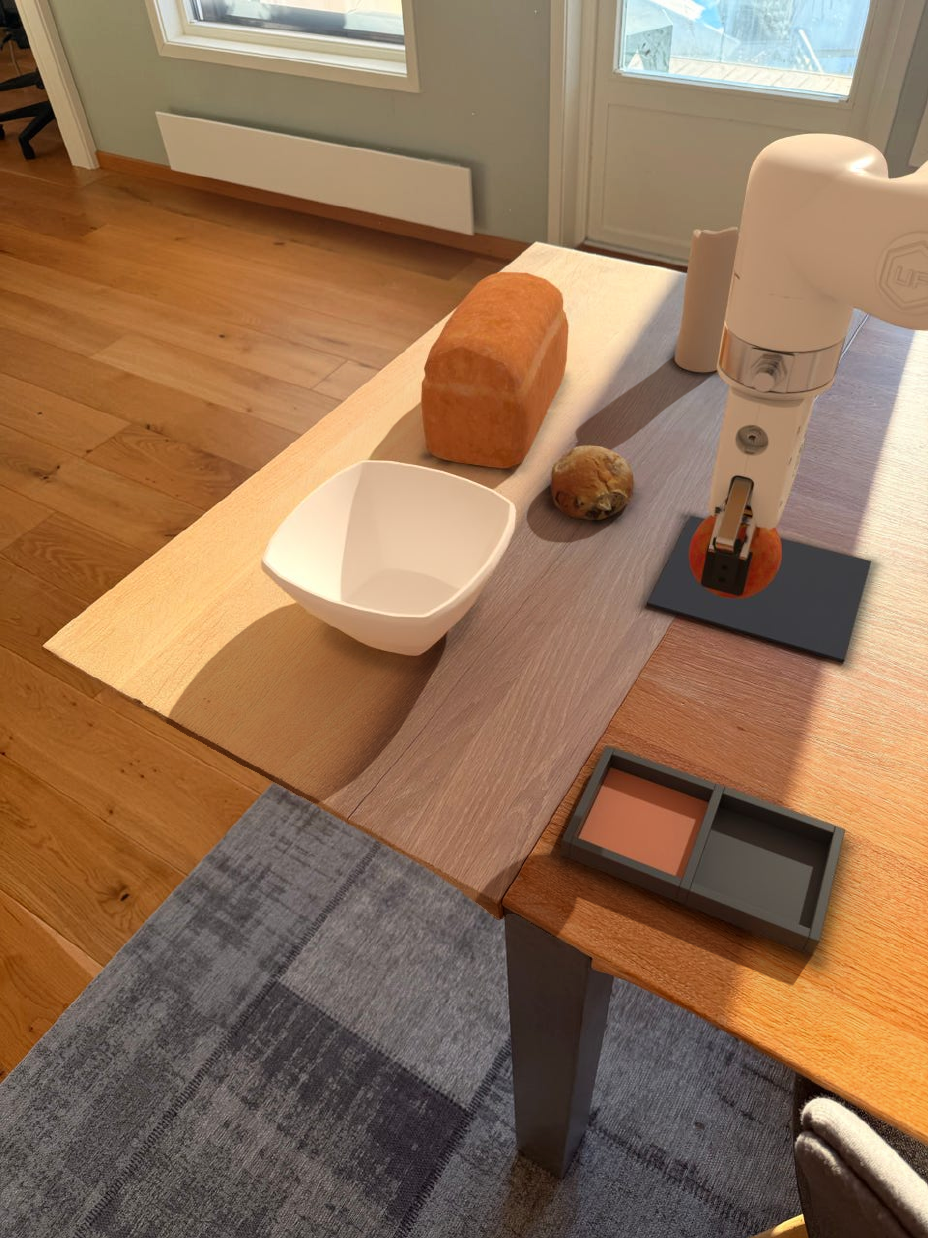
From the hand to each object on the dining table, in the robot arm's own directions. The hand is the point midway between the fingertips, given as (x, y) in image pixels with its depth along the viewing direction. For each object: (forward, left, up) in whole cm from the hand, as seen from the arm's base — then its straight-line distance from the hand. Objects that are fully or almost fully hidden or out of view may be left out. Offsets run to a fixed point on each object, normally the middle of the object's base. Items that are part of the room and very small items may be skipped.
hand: (734, 556), depth 71 cm
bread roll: (+21, -27, -20) cm, 40 cm away
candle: (+18, -67, -20) cm, 72 cm away
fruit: (0, 0, -3) cm, 3 cm away
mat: (-1, -20, -20) cm, 28 cm away
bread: (+39, -40, -20) cm, 59 cm away
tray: (-4, +14, -20) cm, 24 cm away
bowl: (+32, 0, -20) cm, 38 cm away
